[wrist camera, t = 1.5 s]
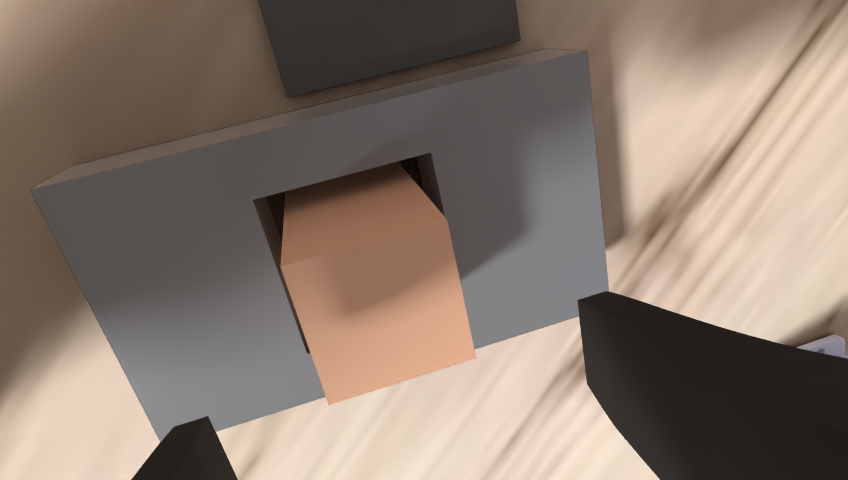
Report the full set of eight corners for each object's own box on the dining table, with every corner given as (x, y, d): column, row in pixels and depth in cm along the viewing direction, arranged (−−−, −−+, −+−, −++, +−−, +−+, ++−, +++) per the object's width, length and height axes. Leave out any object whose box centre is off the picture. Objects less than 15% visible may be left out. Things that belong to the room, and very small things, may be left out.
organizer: (544, 48, 19) (587, 50, 16) (571, 273, 22) (610, 306, 20) (72, 165, 17) (29, 189, 14) (181, 393, 20) (163, 447, 18)
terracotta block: (396, 160, 19) (447, 219, 13) (420, 260, 21) (476, 358, 14) (285, 189, 19) (280, 267, 12) (318, 289, 20) (328, 405, 14)
